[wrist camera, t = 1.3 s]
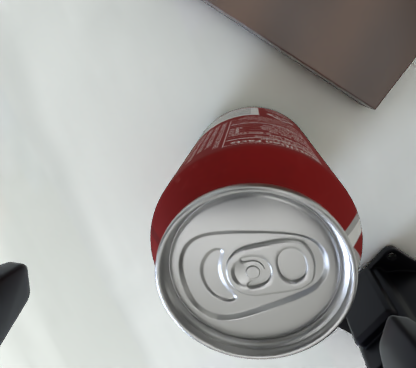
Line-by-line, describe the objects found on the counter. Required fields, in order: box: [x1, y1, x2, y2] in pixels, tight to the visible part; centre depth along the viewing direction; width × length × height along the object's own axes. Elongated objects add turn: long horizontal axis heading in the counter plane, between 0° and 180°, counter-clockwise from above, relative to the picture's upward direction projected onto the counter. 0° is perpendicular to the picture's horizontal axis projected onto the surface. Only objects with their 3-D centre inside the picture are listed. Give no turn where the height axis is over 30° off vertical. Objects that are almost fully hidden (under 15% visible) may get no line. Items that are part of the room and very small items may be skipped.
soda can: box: [150, 107, 363, 359], centre depth 15 cm, size 7×7×12 cm
